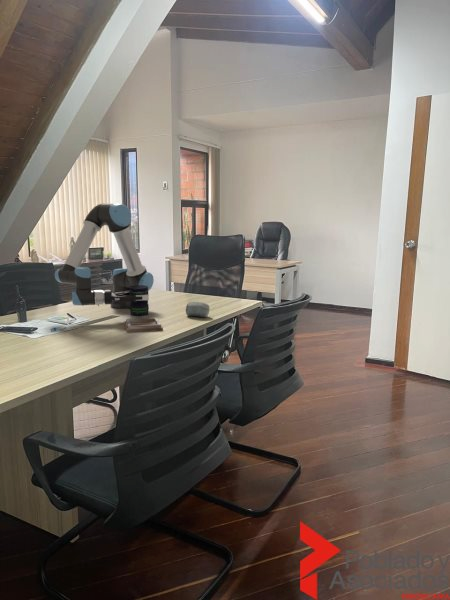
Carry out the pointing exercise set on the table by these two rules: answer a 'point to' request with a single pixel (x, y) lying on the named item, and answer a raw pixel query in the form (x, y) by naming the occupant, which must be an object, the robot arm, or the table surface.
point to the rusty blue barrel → (139, 306)
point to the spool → (197, 309)
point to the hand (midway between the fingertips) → (147, 295)
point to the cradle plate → (143, 325)
